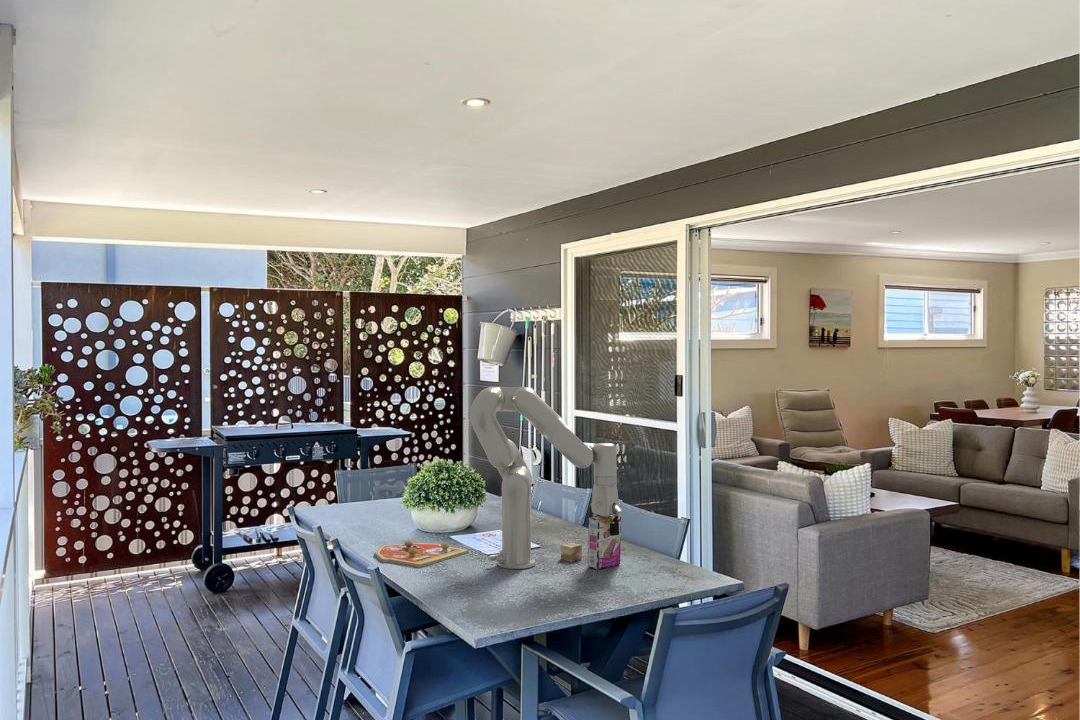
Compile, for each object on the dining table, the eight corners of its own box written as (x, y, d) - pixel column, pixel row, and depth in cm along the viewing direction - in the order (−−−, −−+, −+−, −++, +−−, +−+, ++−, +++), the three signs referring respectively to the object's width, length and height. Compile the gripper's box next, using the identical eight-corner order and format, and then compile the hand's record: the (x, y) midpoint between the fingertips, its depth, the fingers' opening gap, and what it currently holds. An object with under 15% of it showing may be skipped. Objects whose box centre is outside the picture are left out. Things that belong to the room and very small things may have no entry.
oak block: (571, 562, 289) (571, 547, 289) (560, 559, 292) (560, 544, 292) (581, 559, 292) (581, 545, 292) (571, 557, 296) (571, 542, 296)
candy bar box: (598, 570, 278) (598, 519, 277) (587, 567, 281) (587, 517, 281) (621, 564, 285) (621, 515, 285) (610, 561, 289) (610, 513, 289)
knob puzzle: (417, 570, 278) (417, 556, 278) (352, 558, 294) (352, 545, 294) (472, 552, 303) (472, 540, 303) (409, 542, 319) (409, 530, 319)
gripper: (582, 478, 289) (582, 529, 289) (610, 485, 274) (611, 538, 274) (600, 476, 292) (601, 526, 292) (629, 483, 277) (630, 536, 277)
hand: (606, 532), depth 283 cm, fingers open, 9 cm apart
